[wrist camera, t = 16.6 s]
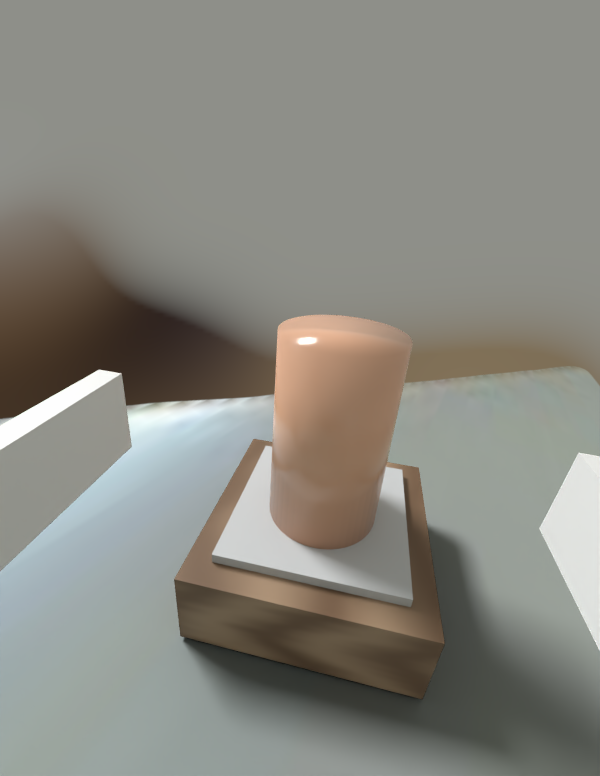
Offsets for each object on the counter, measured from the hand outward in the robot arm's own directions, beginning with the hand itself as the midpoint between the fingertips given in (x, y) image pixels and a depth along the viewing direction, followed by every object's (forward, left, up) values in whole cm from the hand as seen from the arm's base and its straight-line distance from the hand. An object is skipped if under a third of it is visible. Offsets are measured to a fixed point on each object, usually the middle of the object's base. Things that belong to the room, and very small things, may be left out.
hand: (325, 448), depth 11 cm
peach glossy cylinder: (0, +10, -11) cm, 15 cm away
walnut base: (0, +10, -17) cm, 20 cm away
